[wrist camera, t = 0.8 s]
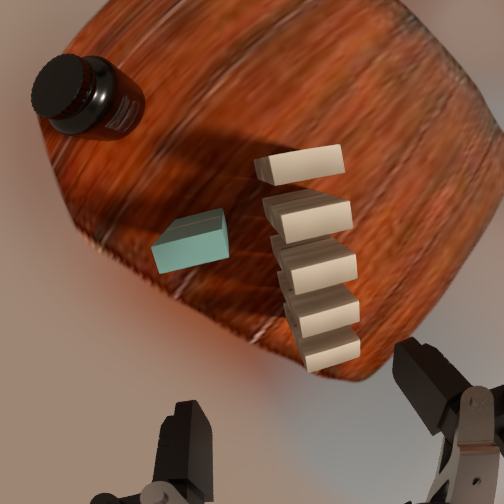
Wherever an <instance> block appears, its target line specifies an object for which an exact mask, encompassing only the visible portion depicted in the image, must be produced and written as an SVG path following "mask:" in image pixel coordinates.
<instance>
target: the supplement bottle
mask: <svg viewBox="0 0 504 504" xmlns="http://www.w3.org/2000/svg"><path fill="white" fill-rule="evenodd" d="M31 102H32V106H33V108H34V111H36V113H37V114H38V115H40V116H41V117H45V118H48V119H49V122H50V123H51V125H52V126H53V127H54V128H55V129H56V130H57V131H58V132H60V133H62V134H65V135H70V136H77V137H84V138H91V139H97V140H105V141H114V140H118V139H121V138H123V137H125V136H127V135H128V134H130V133H131V132H132V131H133V130H134V129H135V128H136V127H137V126H138V124H139V123H140V121H141V119H142V117H143V114H144V110H145V97H144V94H143V92H142V90H141V88H140V87H139V86H138V85H137V84H136V83H135V82H134V81H133V80H132V79H130V78H129V77H128V76H127V75H126V74H124V73H123V72H122V71H121V70H120V69H118V68H117V67H116V66H115V65H113V64H112V63H111V62H110V61H108V60H107V59H105V58H103V57H100V56H85V57H79V56H76V55H75V54H69V53H68V54H62V55H60V56H57V57H55V58H53V59H52V60H51V61H50V62H48V63H47V64H46V65H45V66H44V67H43V69H42V70H41V71H40V72H39V74H38V76H37V77H36V80H35V82H34V84H33V88H32V93H31Z"/></svg>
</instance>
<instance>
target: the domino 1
mask: <svg viewBox="0 0 504 504" xmlns="http://www.w3.org/2000/svg"><path fill="white" fill-rule="evenodd" d="M151 248H152V252H153V255H154V258H155V261H156V264H157V267H158V270H159V273H160V274H161V273H165V272H170V271H174V270H178V269H182V268H186V267H191V266H195V265H199V264H203V263H208V262H212V261H216V260H220V259H224V258H229V248H228V231H227V223H226V219H225V215H224V211H223V208H218V209H214V210H210V211H206V212H202V213H198V214H194V215H190V216H187V217H183V218H179V219H175V220H174V221H173V222H172V223H171V224H170V226H169V227H168V228H167V229H166V230H165V231H164V232H163V234H162V235H161V236H160V237H159V238H158V239H157V241H156V242H155V243H154V244H153V245H152V246H151Z"/></svg>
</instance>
